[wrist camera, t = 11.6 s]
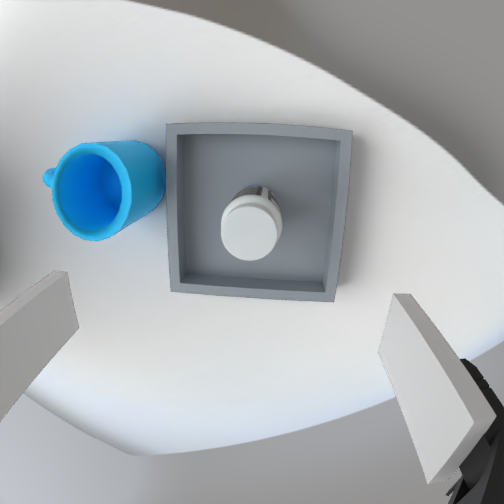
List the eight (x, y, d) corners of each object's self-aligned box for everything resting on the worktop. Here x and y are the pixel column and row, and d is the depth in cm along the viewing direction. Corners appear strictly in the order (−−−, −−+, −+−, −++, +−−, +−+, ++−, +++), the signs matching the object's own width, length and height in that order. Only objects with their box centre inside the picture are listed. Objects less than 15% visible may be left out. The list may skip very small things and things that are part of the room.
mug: (173, 146, 29) (139, 149, 22) (160, 225, 32) (126, 251, 24) (75, 133, 29) (27, 135, 21) (67, 203, 32) (22, 221, 24)
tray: (179, 279, 34) (170, 291, 31) (176, 125, 28) (166, 123, 26) (329, 288, 33) (334, 302, 30) (345, 131, 27) (352, 130, 25)
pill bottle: (224, 223, 31) (206, 252, 23) (240, 177, 29) (227, 190, 21) (270, 240, 31) (268, 275, 23) (288, 195, 29) (293, 215, 21)
